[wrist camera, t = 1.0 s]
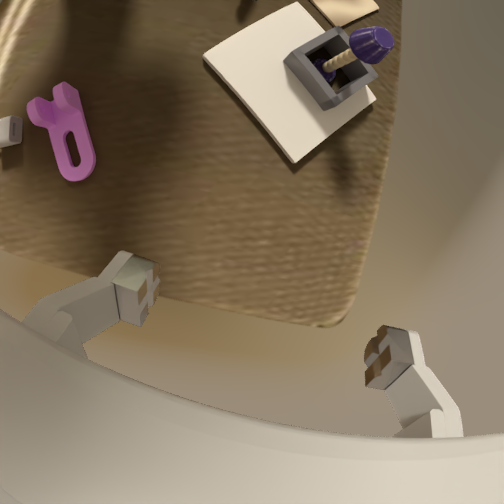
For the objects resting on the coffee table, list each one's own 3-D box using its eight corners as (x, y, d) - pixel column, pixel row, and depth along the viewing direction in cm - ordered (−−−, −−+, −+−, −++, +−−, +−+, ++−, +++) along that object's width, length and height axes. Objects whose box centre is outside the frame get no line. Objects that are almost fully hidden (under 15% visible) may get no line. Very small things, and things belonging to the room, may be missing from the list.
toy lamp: (341, 79, 39) (408, 47, 24) (320, 92, 40) (384, 61, 24) (322, 55, 38) (382, 12, 22) (301, 67, 38) (356, 24, 22)
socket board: (202, 58, 35) (204, 43, 30) (294, 5, 35) (306, -11, 30) (291, 163, 42) (305, 162, 36) (371, 100, 41) (391, 94, 36)
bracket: (46, 107, 32) (24, 99, 26) (78, 90, 33) (60, 78, 26) (68, 186, 36) (47, 190, 30) (101, 171, 37) (84, 171, 30)
